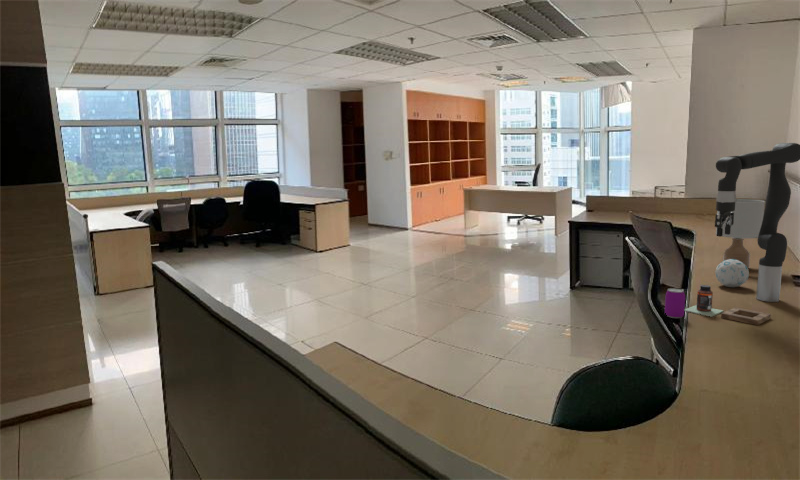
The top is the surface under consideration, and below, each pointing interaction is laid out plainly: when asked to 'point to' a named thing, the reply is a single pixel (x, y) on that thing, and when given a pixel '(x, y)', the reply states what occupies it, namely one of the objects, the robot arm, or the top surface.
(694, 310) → the pad
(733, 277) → the puzzle ball
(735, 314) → the socket block
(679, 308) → the beverage can
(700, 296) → the supplement bottle
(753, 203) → the lamp
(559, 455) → the top surface
